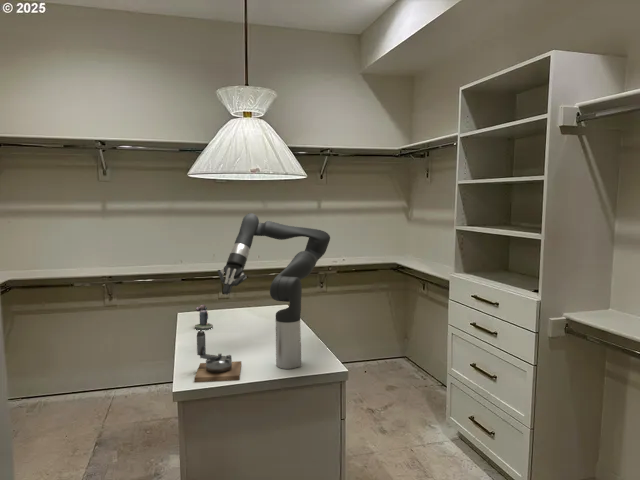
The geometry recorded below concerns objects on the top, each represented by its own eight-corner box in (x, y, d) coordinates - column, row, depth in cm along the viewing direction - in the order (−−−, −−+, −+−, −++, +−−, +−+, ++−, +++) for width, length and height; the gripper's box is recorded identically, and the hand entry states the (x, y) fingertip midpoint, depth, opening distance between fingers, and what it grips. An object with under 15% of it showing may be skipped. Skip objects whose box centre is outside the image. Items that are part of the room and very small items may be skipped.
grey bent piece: (237, 365, 162) (236, 330, 161) (222, 374, 154) (221, 337, 153) (206, 360, 167) (205, 326, 166) (190, 369, 159) (189, 333, 158)
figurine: (202, 331, 212) (201, 306, 211) (191, 328, 217) (190, 304, 216) (216, 327, 218) (216, 303, 217) (205, 324, 223) (204, 301, 222)
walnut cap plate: (241, 365, 168) (241, 360, 168) (239, 379, 154) (239, 375, 154) (200, 367, 166) (200, 362, 166) (194, 382, 152) (194, 377, 152)
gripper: (255, 263, 191) (242, 300, 183) (226, 258, 194) (212, 294, 186) (251, 254, 185) (238, 292, 177) (221, 249, 187) (207, 287, 179)
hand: (225, 293), depth 181 cm, fingers closed
